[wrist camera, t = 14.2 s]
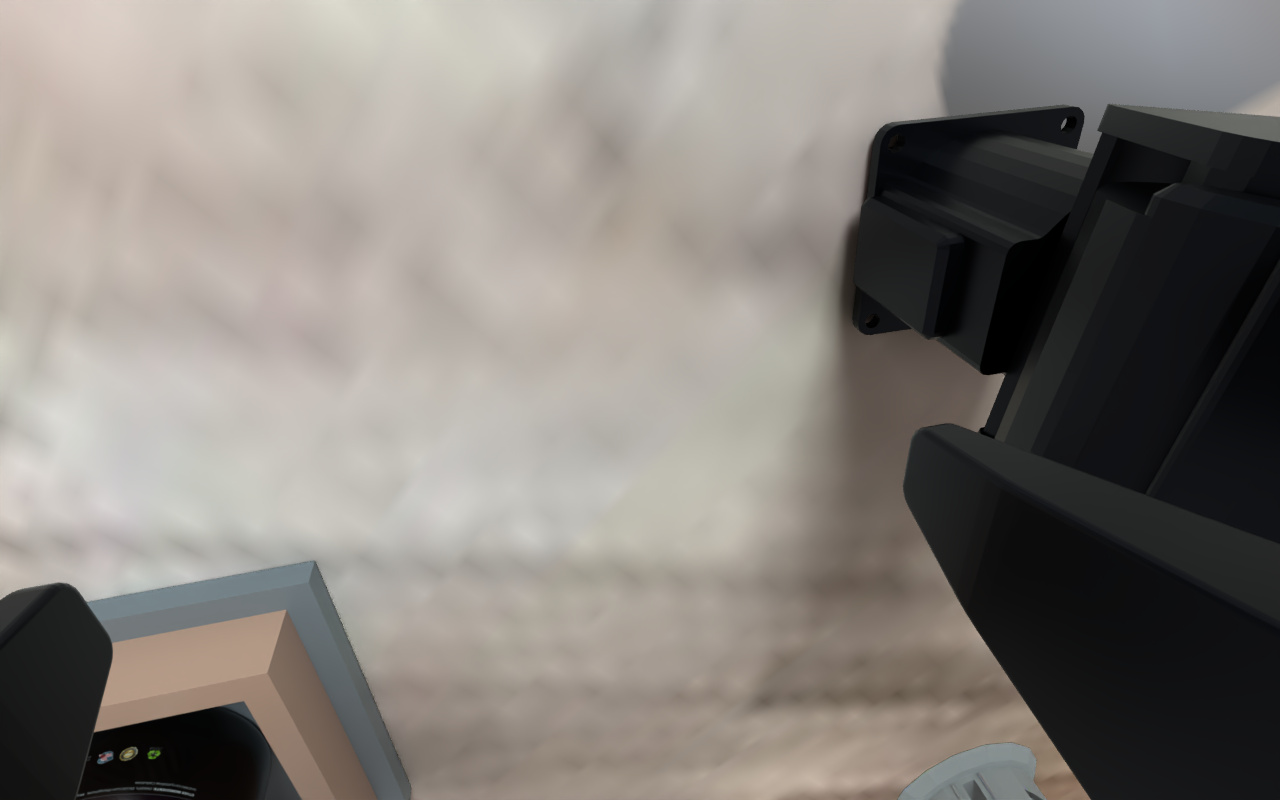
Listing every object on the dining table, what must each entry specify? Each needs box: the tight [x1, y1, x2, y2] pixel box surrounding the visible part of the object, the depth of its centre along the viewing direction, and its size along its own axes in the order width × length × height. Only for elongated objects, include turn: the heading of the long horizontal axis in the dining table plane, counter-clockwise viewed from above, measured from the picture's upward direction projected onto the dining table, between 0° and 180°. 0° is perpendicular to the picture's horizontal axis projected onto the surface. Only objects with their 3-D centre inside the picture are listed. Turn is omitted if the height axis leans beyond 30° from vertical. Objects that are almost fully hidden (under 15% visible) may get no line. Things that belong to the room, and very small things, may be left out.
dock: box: [86, 561, 411, 800], centre depth 24 cm, size 14×14×4 cm
